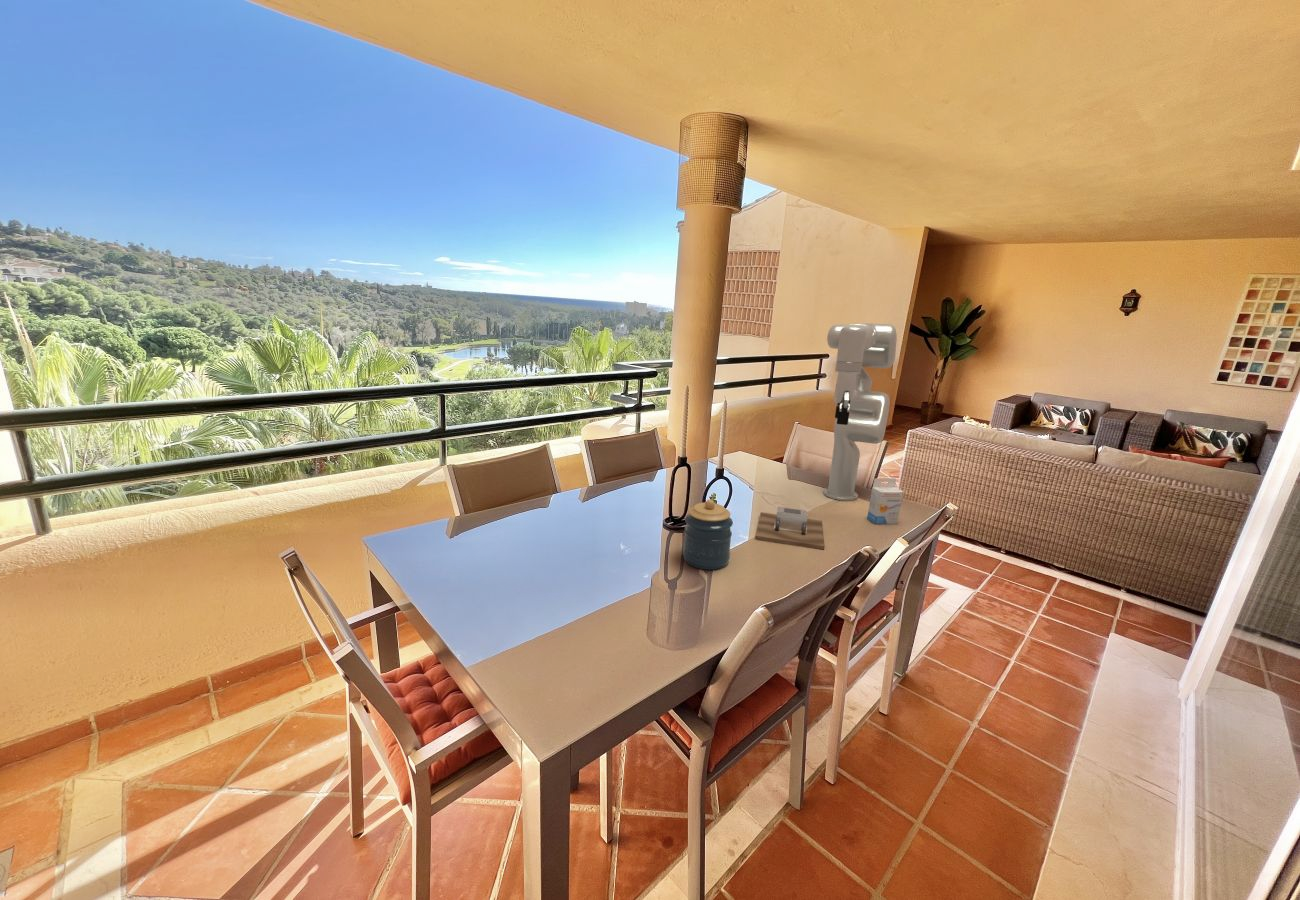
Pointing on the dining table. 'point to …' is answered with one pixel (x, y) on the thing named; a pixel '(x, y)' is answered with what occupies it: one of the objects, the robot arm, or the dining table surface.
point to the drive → (791, 518)
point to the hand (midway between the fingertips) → (840, 421)
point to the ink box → (884, 502)
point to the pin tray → (790, 532)
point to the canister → (707, 536)
